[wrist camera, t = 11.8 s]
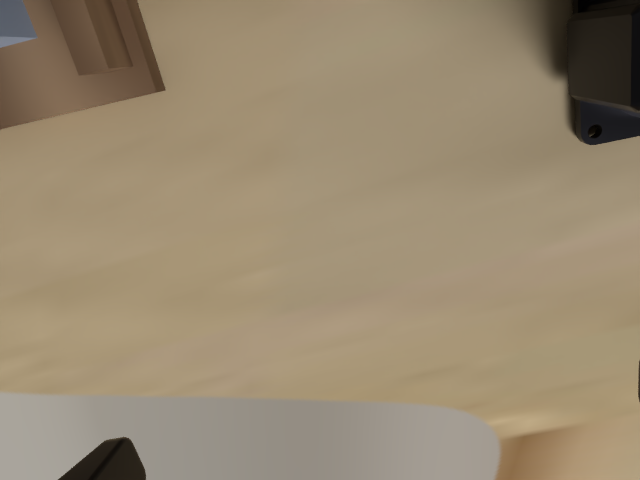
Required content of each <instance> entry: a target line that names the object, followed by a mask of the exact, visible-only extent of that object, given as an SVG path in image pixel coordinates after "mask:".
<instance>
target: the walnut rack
mask: <svg viewBox="0 0 640 480" xmlns="http://www.w3.org/2000/svg"><path fill="white" fill-rule="evenodd" d="M23 3H24V5H25V7H26V10H27V12H28V15H29V17H30V20H31V22H32V25H33V27H34V30H35V32H36V35H37V37H38V38H36V39H32V40H28V41H24V42H20V43H16V44H13V45H9V46H5V47H1V48H0V129H3V128H7V127H11V126H16V125H20V124H24V123H28V122H33V121H37V120H41V119H45V118H50V117H54V116H58V115H62V114H67V113H71V112H75V111H79V110H84V109H88V108H92V107H96V106H101V105H105V104H109V103H113V102H118V101H122V100H126V99H130V98H135V97H139V96H143V95H147V94H152V93H156V92H160V91H164V90H165V87H164V84H163V81H162V78H161V75H160V71H159V68H158V65H157V62H156V59H155V56H154V53H153V50H152V47H151V44H150V40H149V37H148V34H147V31H146V28H145V25H144V22H143V19H142V16H141V12H140V9H139V6H138V3H137V0H23Z"/></svg>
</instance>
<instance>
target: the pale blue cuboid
mask: <svg viewBox="0 0 640 480" xmlns="http://www.w3.org/2000/svg"><path fill="white" fill-rule="evenodd" d="M36 38H38V37H37V35H36V32H35V30H34V27H33V25H32V22H31V20H30V17H29V15H28V12H27V10H26V7H25V5H24V3H23V0H0V48H1V47H5V46H9V45H13V44H16V43H20V42H24V41H28V40H32V39H36Z"/></svg>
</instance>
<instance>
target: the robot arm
mask: <svg viewBox="0 0 640 480" xmlns="http://www.w3.org/2000/svg"><path fill="white" fill-rule="evenodd" d="M572 5H573V15H572V16H571V18H570V19H569V21H568V22H567V51H568V84H569V94H570V95H571V96H572V97H574V98H575V119H576V135H577V138H578V139H579V140H580V141H581V142H584V143H586V144H589V145H597V144H602V143H607V142H611V141H616V140H621V139H626V138H631V137H636V136H640V0H572ZM592 125H596V127H597V130H596V132H595V134H594V135H592V136H590V137H589V135H588V130H589V128H590V127H591V126H592ZM638 397H639V402H640V361H639V382H638ZM58 480H146V474H145V469H144V467H143V464H142V462H141V460H140V458H139V456H138V454H137V452H136V449H135V447H134V445H133V443H132V441H131V440H130V439H129V438H126V437H122V438H116V439H109V440H106V441H104V442H103V443H101V444H100V445H99V446H98V447H97V448H96V449H94V450H93V451H92V452H91V453H89V454H88V455H87V456H86V457H85V458H83V459H82V460H81V461H80V462H79V463H78V464H76V465H75V466H74V467H73V468H71V470H69V471H68V472H67V473H65V475H63V476H62V477H61V478H59V479H58Z"/></svg>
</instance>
